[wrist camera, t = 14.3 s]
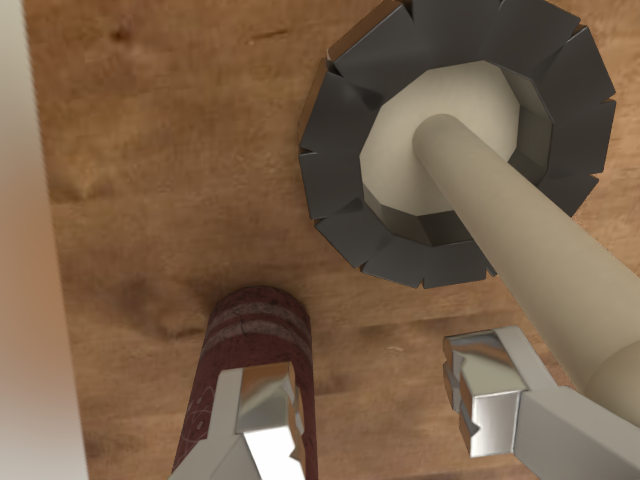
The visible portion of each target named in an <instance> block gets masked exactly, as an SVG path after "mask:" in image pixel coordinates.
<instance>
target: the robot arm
mask: <svg viewBox="0 0 640 480" xmlns="http://www.w3.org/2000/svg"><path fill="white" fill-rule="evenodd" d="M443 352H444V354H445V357H446V359H447V361H446V362H445V363H444V364H443V375H444V382H445V388H446V391H447V395H448V398H449V401H450V404H451V407H452V409H453V410H454V411H456V412H457V413H458V414H459V429H460V431H461V434H462V437H463V439H464V442H465V444H466V447H467V450H468V452H469V455H470V458H473V457H482V456H490V455H499V454H507V453H514V456H515V457H516V458H518V459H519V460H520V461H521V462H522V463H523V464H524V465H525V466H526V467H528V468H529V469H530V470H531V471H532V472H533V473H534V474H535V475H536V476H538V477H539V478H540V479H541V480H640V428H638V427H637V426H635V425H633V424H632V423H630V422H628V421H626V420H625V419H623V418H621V417H620V416H618V415H616V414H614V413H613V412H611V411H609V410H608V409H606V408H604V407H602V406H601V405H599V404H597V403H595V402H594V401H592V400H590V399H589V398H587V397H585V396H583V395H582V394H580V393H578V392H577V391H575V390H573V389H571V388H570V387H568V386H558V385H557V383H556V382H555V380H554V379H553V377H552V376H551V374H550V373H549V371H548V370H547V368H546V367H545V365H544V364H543V362H542V361H541V359H540V358H539V356H538V354H537V353H536V351H535V350H534V348H533V347H532V345H531V344H530V342H529V341H528V339H527V338H526V336H525V335H524V333H523V332H522V330H521V329H520V328H519V327H518V326H516V325H513V326H507V327H500V328H494V329H491V330H490V329H488V330H482V331H476V332H470V333H464V334H457V335H451V336H445V337H444V339H443ZM304 431H305V430H304V413H303V404H302V399H301V394H300V390H299V387H298V386H297V385H295V371H294V368H293V365H292V362H291V361H286V362H278V363H271V364H263V365H255V366H247V367H243V368H235V369H227V370H222V371H221V373H220V375H219V376H218V381H217V386H216V392H215V397H214V402H213V408H212V413H211V419H210V424H209V429H208V435H207V439H203V440H199V441H198V443H197V444H196V445H195V446H194V448H193V449H192V450H191V451H190V452H189V454H188V455H187V456H186V457H185V459H184V460H183V461H182V462H181V463H180V465H179V466H178V467H177V468H176V470H175V471H174V472H173V473H172V474H171V476H170V477H169V478H168V479H167V480H306V468H305V448H304V445H303V441H302V438H301V436H302V434H303V433H304Z"/></svg>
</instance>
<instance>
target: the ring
mask: <svg viewBox="0 0 640 480" xmlns="http://www.w3.org/2000/svg"><path fill="white" fill-rule="evenodd" d="M580 21H581V19H580V18H579V17H577V16H575V15H573V14H571V13H569V12H567V11H565V10H563V9H561V8H559V7H557V6H555V5H553V4H551V3H549V2H547V1H545V0H395V1H392V0H384V1H383V2H382V3H381V4H380V5H378V6H377V7H376V8H375V9H374V10H373V11H372V12H370V13H369V14H368V15H367V16H366V17H365V18H364V19H362V20H361V21H360V22H359V23H358V24H357V25H356V26H354V27H353V28H352V29H351V30H350V31H349V32H348V33H346V34H345V35H344V36H343V37H342V38H341V39H340V40H338V41H337V42H336V43H335V44H334V45H333V46H332V47H330V48H329V49H328V54H329V56H330V58H331V61H330V60H327V59H325V58H322V59H321V62H320V65H319V67H318V70H317V73H316V76H315V79H314V81H313V84H312V87H311V90H310V92H309V95H308V98H307V101H306V103H305V106H304V109H303V112H302V115H301V117H300V120H299V123H298V131H299V132H298V157H299V163H300V168H301V173H302V178H303V184H304V189H305V194H306V199H307V204H308V210H309V215H310V218H311V220H314V227H315V228H316V229H317V230H318V231H319V232H320V233H321V234H322V235H323V236H324V237H325V238H326V239H327V240H328V241H329V243H330V244H331V245H332V246H333V247H334V248H335V249H336V250H337V251H338V252H339V253H340V254H341V255H342V256H343V257H344V258H345V259H346V260H347V261H348V262H349V263H350V265H351V266H352V267H353V268H357V267H359V266H360V271H361V272H362V273H365V274H368V275H372V276H375V277H379V278H382V279H385V280H389V281H392V282H396V283H399V284H403V285H406V286H409V287H413V288H418V286H419V285H420V283H422V286H423V288H424V289H428V288H434V287H441V286H447V285H454V284H460V283H466V282H473V281H479V280H485V279H486V269H487V271H488V272H489V273H490V275H491V276H492V277H494V276H495V275H497V272H496V271H495V269H494V268H493V266H492V265H491V264H490V262H489V261H488V259H487V258H486V256H485V255H484V253H483V252H482V250H481V249H480V247H479V246H478V245H477V243H476V242H475V240H474V239H473V237H472V236H471V234H470V233H469V231H468V230H467V228H466V227H465V226H464V224H463V223H462V221H461V220H460V218H459V217H458V215H457V214H456V212H455V211H454V210H451V211H445V212H439V213H433V214H427V215H420V216H415V215H412V214H409V213H406V212H403V211H400V210H397V209H394V208H391V207H388V206H385V205H382V204H380V202H379V201H378V200H377V199H376V198H375V196H374V195H373V194H372V193H371V192H370V190H369V189H368V188H367V187H366V186H365V184H364V183H363V181H362V173H361V164H360V154H361V151H362V149H363V147H364V145H365V142H366V140H367V138H368V136H369V133H370V131H371V129H372V127H373V124H374V122H375V120H376V118H377V116H378V113H379V111H380V109H381V107H382V106H383V105H384V104H385V103H387V102H388V101H389V100H390V99H392V98H393V97H394V96H395V95H397V94H398V93H399V92H401V91H402V90H403V89H404V88H406V87H407V86H408V85H409V84H411V83H412V82H413V81H414V80H416V79H417V78H418V77H420V76H421V75H422V74H423V73H425V72H426V71H427V70H431V69H437V68H442V67H448V66H454V65H460V64H466V63H471V62H477V61H483V60H484V61H486V62H488V63H491V64H493V65H495V66H497V67H499V68H500V69H501V71H502V73H503V75H504V77H505V78H506V80H507V82H508V84H509V86H510V87H511V89H512V91H513V93H514V95H515V97H516V98H517V100H518V102H519V104H520V111H519V123H518V136H517V147H516V149H515V151H514V152H513V154H512V155H511V157H510V159H509V160H508V162H507V163H509V164H510V165H511V166H512V167H513V168H514V169H515V170H517V171H518V172H519V173H520V174H521V175H522V176H523V177H525V178H526V179H527V180H528V181H529V182H530V183H531V184H533V185H534V186H535V187H536V188H537V189H538V190H539V191H541V192H542V193H543V194H544V195H545V196H546V197H547V198H549V199H550V200H551V201H552V202H553V203H554V204H555V205H557V206H558V207H559V208H560V209H561V210H562V211H563V212H565V213H566V214H567V215H568V216H569V217H570V218H571V217H572V216H573V215H574V213H575V212H576V211H577V209H578V208H579V207H580V206H581V204H582V203H583V202H584V200H585V199H586V198H587V196H588V195H589V194H590V192H591V191H592V190H593V188H594V187H595V186H596V184H597V183H598V182H599V179H598V178H596V177H595V176H593V175H592V174H596V173H602V172H603V170H604V164H605V159H606V154H607V149H608V144H609V139H610V133H611V128H612V123H613V118H614V113H615V108H616V101H615V100H612V99H610V98H609V97H611V96H612V95H614V94H615V93H616V91H615V89H614V86H613V84H612V82H611V79H610V77H609V75H608V72H607V70H606V68H605V65H604V63H603V61H602V58H601V56H600V53H599V51H598V49H597V46H596V44H595V42H594V39H593V37H592V35H591V32H590V30H589V28H588V26H587V25H581V24H579V23H580Z"/></svg>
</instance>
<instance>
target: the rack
mask: <svg viewBox="0 0 640 480" xmlns="http://www.w3.org/2000/svg"><path fill="white" fill-rule="evenodd" d="M326 52H327V59H328V60H330V61H331V58H330V56H329V54H328V49H327V51H326ZM519 111H520V104H519V102H518V100H517V98H516V97H515V95H514V93H513V91H512V89H511V87H510V86H509V84H508V82H507V80H506V78H505V77H504V75H503V73H502V71H501V69H500V68H499V67H497V66H495V65H493V64H491V63H488V62H486V61H484V60H483V61H477V62H471V63H466V64H460V65H454V66H448V67H442V68H437V69H431V70H427V71H426V72H425V73H423V74H422V75H421V76H420V77H418V78H417V79H416V80H414V81H413V82H412V83H411V84H409V85H408V86H407V87H406V88H404V89H403V90H402V91H401V92H399V93H398V94H397V95H395V96H394V97H393V98H392V99H390V100H389V101H388V102H387V103H385V104H384V105H383V106H382V107H381V109H380V111H379V113H378V116H377V118H376V120H375V122H374V124H373V127H372V129H371V131H370V133H369V136H368V138H367V140H366V142H365V145H364V147H363V149H362V151H361V154H360V164H361V173H362V181H363V183H364V184H365V186H366V187H367V188H368V189H369V190H370V192H371V193H372V194H373V195H374V196H375V198H376V199H377V200H378V201H379V202H380V204H382V205H385V206H388V207H391V208H394V209H397V210H400V211H403V212H406V213H409V214H412V215H415V216H420V215H427V214H433V213H439V212H445V211H451V210H454V211H455V212H456V214H457V215H458V217H459V218H460V220H461V221H462V223H463V224H464V226H465V227H466V228H467V230H468V231H469V233H470V234H471V236H472V237H473V239H474V240H475V242H476V243H477V245H478V246H479V247H480V249H481V250H482V252H483V253H484V255H485V256H486V258H487V259H488V261H489V262H490V264H491V265H492V266H493V268H494V269H495V271H496V272H497V274H498V275H499V277H500V278H501V280H502V281H503V283H504V284H505V285H506V287H507V288H508V290H509V291H510V293H511V294H512V296H513V297H514V299H515V300H516V302H517V303H518V304H519V306H520V307H521V309H522V310H523V312H524V313H525V315H526V316H527V318H528V319H529V321H530V322H531V323H532V325H533V326H534V328H535V329H536V331H537V332H538V334H539V335H540V337H541V338H542V340H543V341H544V343H545V344H546V345H547V347H548V348H549V350H550V351H551V353H552V354H553V356H554V357H555V359H556V360H557V362H558V363H559V364H560V366H561V367H562V369H563V370H564V372H565V373H566V375H567V376H568V378H569V379H570V381H571V382H572V383H573V385H574V386H575V388H576V389H577V391H578V392H579V393H580V394H582V395H583V396H585V397H587V398H589V399H590V400H592V401H594V402H595V403H597V404H599V405H601V406H602V407H604V408H606V409H608V410H609V411H611V412H613V413H614V414H616V415H618V416H620V417H621V418H623V419H625V420H626V421H628V422H630V423H632V424H633V425H635V426H637V427H638V428H640V278H639V277H638V276H637V275H635V274H634V273H633V272H632V271H631V270H630V269H629V268H627V267H626V266H625V265H624V264H623V263H622V262H621V261H619V260H618V259H617V258H616V257H615V256H614V255H613V254H611V253H610V252H609V251H608V250H607V249H606V248H605V247H603V246H602V245H601V244H600V243H599V242H598V241H597V240H595V239H594V238H593V237H592V236H591V235H590V234H589V233H587V232H586V231H585V230H584V229H583V228H582V227H581V226H579V225H578V224H577V223H576V222H575V221H574V220H573V219H571V218H570V217H569V216H568V215H567V214H566V213H565V212H563V211H562V210H561V209H560V208H559V207H558V206H557V205H555V204H554V203H553V202H552V201H551V200H550V199H549V198H547V197H546V196H545V195H544V194H543V193H542V192H541V191H539V190H538V189H537V188H536V187H535V186H534V185H533V184H531V183H530V182H529V181H528V180H527V179H526V178H525V177H523V176H522V175H521V174H520V173H519V172H518V171H517V170H515V169H514V168H513V167H512V166H511V165H510V164H509V163H507V162H508V160H509V159H510V157H511V155H512V154H513V152H514V151H515V149H516V147H517V136H518V123H519Z"/></svg>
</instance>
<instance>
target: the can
mask: <svg viewBox="0 0 640 480" xmlns="http://www.w3.org/2000/svg"><path fill="white" fill-rule="evenodd" d="M286 361H291V362H292V365H293V368H294V371H295V385H297V386H298V387H299V390H300V394H301V399H302V404H303V413H304V430H305V431H304V433H303V434H302V436H301V438H302V441H303V445H304V448H305V468H306V480H318V462H317V441H316V421H315V400H314V380H313V360H312V339H311V325H310V317H309V315H308V314H307V312H306V310H305V308H304V307H303V305H301V304H300V303H299V302H298V301H297V300H296V299H294V298H293V297H292V296H291V295H289V294H288V293H285V292H283V291H281V290H279V289H276V288H271V287H265V286H256V287H246V288H244V289H241V290H238V291H236V292H233V293H231V294H229V295H228V296H226V297H225V298H224V299H222V300H221V301H220V302H219V303H217V305H216V306H215V308H214V309H213V311H212V313H211V314H210V318H209V322H208V326H207V330H206V334H205V338H204V342H203V346H202V350H201V354H200V358H199V363H198V367H197V371H196V375H195V379H194V383H193V387H192V391H191V395H190V399H189V403H188V407H187V411H186V415H185V420H184V424H183V428H182V432H181V436H180V440H179V444H178V448H177V452H176V456H175V460H174V464H173V468H172V472H171V474H172V473H173V472H174V471H175V470H176V468H177V467H178V466H179V465H180V463H181V462H182V461H183V460H184V459H185V457H186V456H187V455H188V454H189V452H190V451H191V450H192V449H193V448H194V446H195V445H196V444H197V443H198V441H199V440H203V439H207V435H208V429H209V424H210V419H211V413H212V408H213V402H214V397H215V392H216V386H217V381H218V376H219V375H220V373H221V371H222V370H227V369H235V368H243V367H247V366H255V365H263V364H271V363H278V362H286Z"/></svg>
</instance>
